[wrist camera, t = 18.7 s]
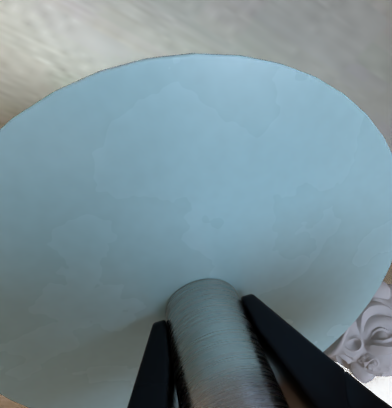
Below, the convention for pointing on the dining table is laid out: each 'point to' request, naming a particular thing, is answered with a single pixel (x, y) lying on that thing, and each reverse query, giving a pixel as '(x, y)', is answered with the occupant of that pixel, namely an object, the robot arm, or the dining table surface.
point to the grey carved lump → (368, 339)
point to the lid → (183, 227)
